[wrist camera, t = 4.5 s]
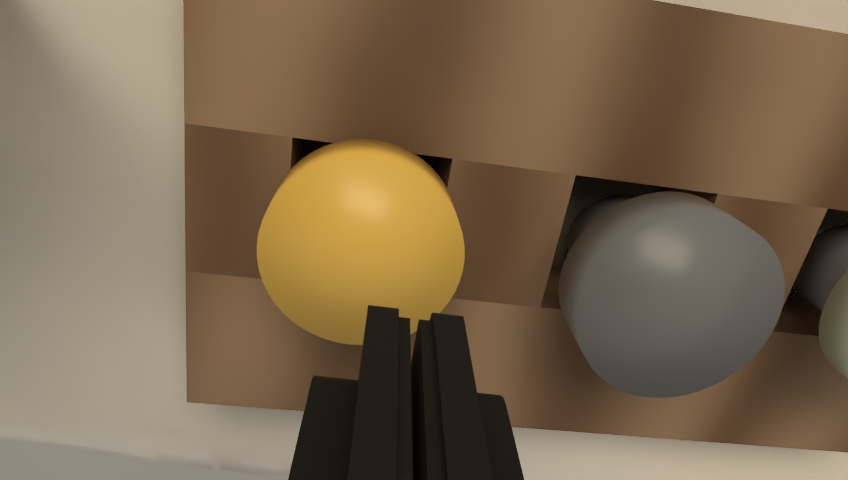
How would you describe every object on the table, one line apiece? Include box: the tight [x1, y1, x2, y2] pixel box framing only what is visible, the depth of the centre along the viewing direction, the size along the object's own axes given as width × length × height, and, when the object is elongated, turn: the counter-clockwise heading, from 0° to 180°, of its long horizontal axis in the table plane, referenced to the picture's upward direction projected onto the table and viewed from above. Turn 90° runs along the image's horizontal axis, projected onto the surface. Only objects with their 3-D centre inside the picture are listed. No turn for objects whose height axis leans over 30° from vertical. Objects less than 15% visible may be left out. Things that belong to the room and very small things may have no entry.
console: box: [184, 0, 848, 452], centre depth 19 cm, size 26×14×3 cm, turn 81°
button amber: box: [257, 139, 465, 345], centre depth 17 cm, size 5×5×5 cm
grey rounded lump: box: [558, 192, 785, 398], centre depth 17 cm, size 5×5×5 cm
